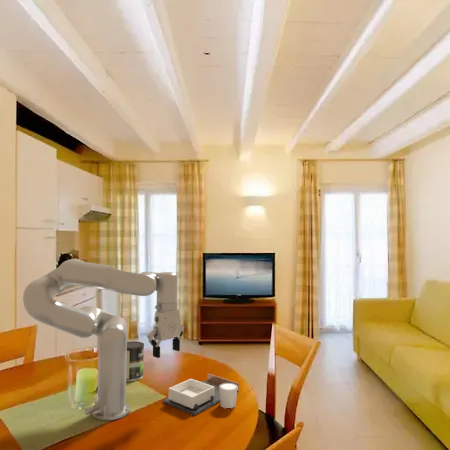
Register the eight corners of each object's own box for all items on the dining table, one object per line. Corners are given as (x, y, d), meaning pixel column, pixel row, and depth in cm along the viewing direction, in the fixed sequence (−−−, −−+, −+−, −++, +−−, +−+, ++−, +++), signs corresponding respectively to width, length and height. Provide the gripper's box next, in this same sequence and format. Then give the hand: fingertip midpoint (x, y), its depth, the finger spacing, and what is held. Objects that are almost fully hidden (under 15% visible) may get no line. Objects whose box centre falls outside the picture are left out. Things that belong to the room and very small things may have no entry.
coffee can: (145, 372, 170) (146, 341, 171) (140, 381, 160) (140, 348, 160) (123, 372, 170) (123, 340, 171) (116, 381, 160) (116, 347, 160)
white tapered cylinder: (215, 406, 138) (215, 387, 138) (224, 399, 144) (224, 381, 144) (232, 411, 135) (232, 391, 135) (240, 403, 141) (240, 384, 141)
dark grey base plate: (194, 415, 131) (194, 405, 131) (163, 402, 141) (163, 392, 141) (238, 391, 152) (238, 383, 152) (208, 381, 161) (208, 373, 162)
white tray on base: (193, 409, 133) (193, 397, 133) (167, 399, 141) (167, 387, 141) (215, 398, 142) (215, 387, 142) (189, 388, 151) (189, 378, 151)
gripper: (155, 311, 128) (155, 362, 128) (190, 304, 142) (190, 349, 141) (141, 308, 133) (141, 357, 132) (176, 301, 146) (176, 346, 146)
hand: (166, 353), depth 137 cm, fingers open, 9 cm apart
